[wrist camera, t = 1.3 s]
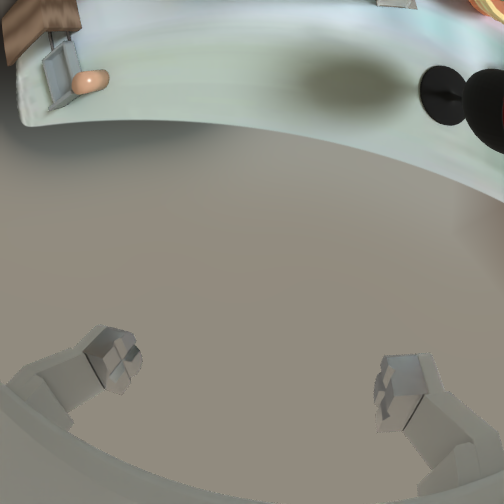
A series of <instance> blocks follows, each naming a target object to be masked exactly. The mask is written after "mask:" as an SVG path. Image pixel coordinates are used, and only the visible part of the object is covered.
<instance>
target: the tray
mask: <svg viewBox="0 0 504 504" xmlns="http://www.w3.org/2000/svg"><path fill="white" fill-rule="evenodd" d="M42 63H43V67H44V71H45V75H46V79H47V83H48V86H49V90H50V94H51V97H52V100H53V104H52V105H51V106H50V107H48V110H49V111H52V110H55V109H58V108H61V107H64V106H66V105H67V104H68V103H70V102H71V101H73V100H74V99H76V98H77V97H78V96H80V95H81V94H80V95H77V94H75V93H74V92H73V90H72V80H73V78H74V76H75V75H76V74H77V73H79V72H81V68H80V65H79V61H78V57H77V53H76V49H75V45H74V41H63V42H62V43H61V44H60V45H59V46H57V47H56V48H55V49H54V50H53V51H52V52H50V53H49V54H48V55H47V56H46V57H45V58H44V59H43V60H42Z"/></svg>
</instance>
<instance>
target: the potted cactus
mask: <svg viewBox="0 0 504 504" xmlns="http://www.w3.org/2000/svg"><path fill="white" fill-rule="evenodd" d="M468 1H469V2H470V3H471V5H472V6H473V7H474V8H475V9H476V10H478V11H479V12H480V13H482V14H483V15H486V16H490V17H492V18H493V19H494V20H497V21H499V22H501V23H503V24H504V0H468Z"/></svg>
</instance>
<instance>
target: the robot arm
mask: <svg viewBox="0 0 504 504" xmlns="http://www.w3.org/2000/svg"><path fill="white" fill-rule="evenodd" d="M135 343H136V339H135V337H134V334H133V333H131V332H128V331H124V330H120V329H116V328H112V327H108V326H104V325H97V326H95V327H94V328H93V329H92V330H91V331H90V332H89V333H88V334H87V335H86V336H85V337H84V338H83V339H82V340H81V341H80V342H79V343H78V344H77V345H76V346H75V347H74V348H73V349H72V348H68V349H66V350H63V351H61V352H58V353H56V354H53V355H51V356H48V357H46V358H43V359H40V360H38V361H35V362H33V363H30V364H28V365H25V366H23V367H22V368H21V369H20V370H19V372H18V373H16V374H15V375H14V377H13V378H12V379H11V380H10V381H9V382H8V383H7V384H6V385H4V384H3V383H2V382H1V381H0V504H281V503H272V502H264V501H257V500H250V499H244V498H239V497H234V496H229V495H224V494H220V493H215V492H211V491H207V490H203V489H200V488H196V487H192V486H188V485H186V484H182V483H179V482H176V481H173V480H170V479H167V478H164V477H161V476H159V475H156V474H153V473H151V472H148V471H145V470H143V469H140V468H138V467H136V466H133V465H131V464H129V463H126V462H124V461H122V460H120V459H118V458H115V457H113V456H111V455H109V454H107V453H105V452H103V451H101V450H99V449H98V448H96V447H94V446H92V445H90V444H88V443H86V442H85V441H83V440H81V439H79V438H78V437H76V436H74V435H73V434H71V433H69V432H68V431H69V429H70V428H71V427H72V425H73V424H74V422H73V419H72V418H71V417H70V416H69V414H68V412H70V411H72V410H73V409H75V408H77V407H78V406H80V405H82V404H83V403H85V402H87V401H88V400H90V399H92V398H93V397H95V396H97V395H98V394H100V393H101V392H103V391H105V390H108V391H111V392H113V393H116V394H119V395H123V394H124V392H125V391H126V389H127V388H128V387H129V385H130V384H131V377H133V376H135V375H137V374H138V372H139V371H140V369H141V366H142V362H143V361H142V354H141V352H140V350H139V349H138V348H137V347H136V346H135ZM380 366H381V372H380V373H379V374H378V375H377V377H376V381H375V385H374V404H375V405H376V406H377V407H378V410H377V412H376V415H375V418H376V428H377V429H376V430H377V433H378V432H396V431H403V433H404V435H405V436H406V437H407V439H408V440H409V441H410V443H411V444H412V445H413V447H414V448H415V449H416V451H417V452H418V453H419V454H420V456H421V457H422V458H423V459H424V461H425V462H426V464H427V465H428V466H429V467H430V469H431V470H432V471H431V472H430V473H429V474H428V475H427V476H426V477H424V478H423V479H422V480H421V481H420V482H419V483H418V484H417V487H418V488H417V489H418V497H416V498H410V499H405V500H399V501H392V502H384V503H375V504H504V450H503V447H502V443H501V440H500V436H499V433H498V431H496V430H495V429H494V428H493V427H492V426H490V425H489V424H488V423H487V422H486V421H485V420H483V419H482V418H481V417H480V416H479V415H477V414H476V413H475V412H474V411H472V410H471V409H470V408H469V407H467V405H465V404H464V403H463V402H461V401H460V400H459V399H458V398H457V397H456V396H454V395H453V394H452V393H451V392H445V390H444V387H443V384H442V381H441V378H440V375H439V372H438V369H437V367H436V364H435V361H434V359H433V356H432V354H430V353H421V354H408V355H389V356H388V355H387V356H384V357H383V359H382V361H381V365H380ZM104 389H105V390H104Z"/></svg>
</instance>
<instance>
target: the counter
mask: <svg viewBox="0 0 504 504" xmlns="http://www.w3.org/2000/svg"><path fill="white" fill-rule="evenodd" d="M2 29H3V38H4V46H5V52H6V59H7V65H8V66H11V65H13V64H14V63H15V62H16V61H17V59H18V58H19V57H20V56H21V55H22V54H23V53H24V52H25V51H26V50H27V49H28V48H29V47H30V46H31V45H32V44H33V43H34V42H35V41H36V40H37V39H38V38H39V37H40V36H41V35H42V34H43V33H44V32H48V35H49V40H50V45H51V49H52V51H53V50H54V46H53V41H52V36H51V31H66V33H67V37H68V41H71V37H70V32H69V31H79V30H80V29H82V26H81V22H80V17H79V13H78V8H77V3H76V0H18V1H17V2H16V3H15V4H14V5H13V6H12V7H11V9H10V10H9V11H8V12H7V13H6V15H5V16H4V17H3V18H2ZM68 104H69V103H68ZM68 104H67V105H68Z"/></svg>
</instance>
